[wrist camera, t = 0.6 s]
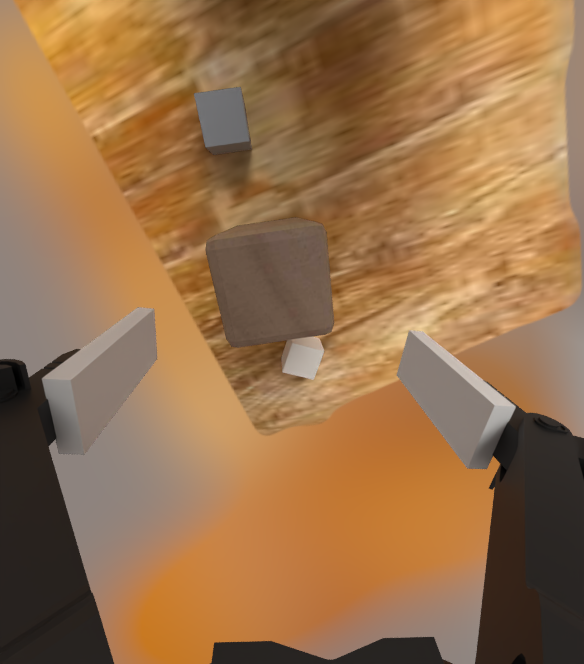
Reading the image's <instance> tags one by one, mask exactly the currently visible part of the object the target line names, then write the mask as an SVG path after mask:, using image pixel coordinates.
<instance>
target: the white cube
mask: <svg viewBox="0 0 584 664" xmlns="http://www.w3.org/2000/svg"><path fill="white" fill-rule="evenodd" d="M323 354H324V349H323V346H322V344H321V341H320V339H319V338H316V337H306V338H299V339H292V340H287V342H286V345H285V348H284V351H283V354H282V357H281V360H282V372H283V373H287V374H292V375H296V376H300V377H304V378H308V379H313V380H314V378H315V375H316V372H317V370H318V367H319V364H320V362H321V359H322V356H323Z"/></svg>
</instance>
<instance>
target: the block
mask: <svg viewBox="0 0 584 664" xmlns="http://www.w3.org/2000/svg"><path fill="white" fill-rule="evenodd" d="M205 250H206V255H207V259H208V263H209V267H210V272H211V276H212V280H213V284H214V289H215V293H216V297H217V301H218V305H219V310H220V314H221V318H222V322H223V327H224V331H225V335H226V339H227V340H228V342H229V343H230V345H231V347H237V348H239V347H245V346H252V345H259V344H265V343H272V342H279V341H286V340H292V339H299V338H306V337H312V336H319V335H326V334H328V333H330V332H331V331H332V328H333V325H334V315H333V303H332V291H331V279H330V268H329V256H328V244H327V232H326V230H325V228H324V226H323V224H321V223H318V222H314V221H310V220H305V219H301V218H296V217H295V218H288V219H281V220H274V221H267V222H260V223H253V224H246V225H239V226H236V227H233V228H231V229H229V230H226V231H224V232H222V233H219V234H217V235H215V236H213V237H212V238H210V239H208V240H207V243H206V249H205Z"/></svg>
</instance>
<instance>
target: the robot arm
mask: <svg viewBox="0 0 584 664" xmlns="http://www.w3.org/2000/svg"><path fill="white" fill-rule="evenodd" d="M156 360H157V347H156V330H155V313H154V309H151V308H139V307H138V308H136V309H135V310H134V311H132V312H131V313H130V314H128V315H127V316H126V317H124V318H123V319H122V320H120V321H119V322H117V323H116V324H115V325H113V326H112V327H111V328H109V329H108V330H107V331H105V332H104V333H103V334H101V335H100V336H99V337H98V338H96V339H94V340H93V341H92V342H90V343H89V344H88V345H86V346H85V347H84V348H82V349H75V350H73V351H70V352H67V353H65V354H62V355H61V356H59V357H58V358H57V359H55V360H54V361H53V362H52V363H49V364H48V365H47V366H45V367H44V369H41V370H39V371H38V372H36V373H35V374H34V375H32V376H31V377H28V373H27V369H26V365H25V363H23V362H22V361H19V360H15V359H2V360H0V664H114V662H113V658H112V655H111V652H110V648H109V645H108V642H107V638H106V635H105V632H104V628H103V625H102V622H101V618H100V615H99V611H98V608H97V605H96V602H95V599H94V596H93V593H91V590H90V587H89V583H88V580H87V576H86V573H85V570H84V567H83V563H82V559H81V556H80V553H79V549H78V546H77V542H76V539H75V536H74V532H73V529H72V525H71V522H70V519H69V515H68V512H67V508H66V505H65V501H64V498H63V495H62V492H61V488H60V484H59V481H58V478H57V474H56V471H55V467H54V464H53V461H52V457H51V454H50V450H49V447H48V446H49V445H50V444H51V443H52V442H53V441H54V440H55V439H56V443H57V448H58V452H59V454H81V455H84V454H85V453H86V452H87V451H88V449H89V448H90V447H91V445H92V444H93V443H94V441H95V440H96V439H97V438H98V436H99V435H100V434H101V432H102V431H103V430H104V428H105V427H106V426H107V424H108V423H109V422H110V420H111V419H112V418H113V416H114V415H115V414H116V412H117V411H118V410H119V408H120V407H121V406H122V405H123V403H124V402H125V401H126V399H127V398H128V397H129V395H130V394H131V393H132V391H133V390H134V388H135V387H136V386H137V385H138V384H139V382H140V381H141V379H142V378H143V377H144V376H145V374H146V373H147V372H148V370H149V369H150V368H151V366H152V365H153V364H154V362H155V361H156ZM397 376H398V378H399V379H400V380H401V381H402V383H403V384H404V385H405V387H406V388H407V389H408V391H409V392H410V393H411V395H412V396H413V397H414V399H415V400H416V401H417V403H418V404H419V405H420V407H421V408H422V409H423V410H424V412H425V413H426V414H427V416H428V417H429V418H430V420H431V421H432V422H433V424H434V425H435V426H436V428H437V429H438V430H439V432H440V433H441V434H442V436H444V438H445V440H446V441H447V442H448V444H449V445H450V446H451V448H452V449H453V450H454V451H455V453H456V454H457V455H458V457H459V458H460V459H461V461H462V462H463V463H464V464H465V466H466V467H467V468H471V469H487V468H488V465H489V463H490V461H491V459H492V457H493V456H494V457H495V458H496V459H497V460H498V461H499V463H500V466H499V468H498V470H497V472H496V474H495V476H494V478H493V481H492V483H491V485H490V487H489V488H490V489H493V488H494V487H495V490H494V500H493V509H492V517H491V526H490V535H489V545H488V553H487V563H486V573H485V582H484V590H483V599H482V608H481V617H480V627H479V636H478V645H477V653H476V661H475V664H584V438H581V437H577V436H573V435H572V433H571V432H570V430H569V429H568V428H567V427H565V426H564V425H563V424H561V423H559V422H558V421H556V420H554V419H552V418H549V417H547V416H544V415H540V414H537V413H526V412H524V411H523V410H522V409H521V408H519V407H518V406H517V405H516V404H514V403H513V402H512V401H511V400H509V399H508V398H507V397H504V395H503V394H502V393H500V392H499V391H497V389H496V388H494V387H493V386H492V385H490V384H489V383H488V382H486V381H484V380H482V379H481V378H480V377H479V376H477V375H476V374H475V373H474V372H472V371H471V370H470V369H469V368H467V367H466V366H465V365H464V364H462V363H461V362H460V361H458V360H457V359H456V358H455V357H454V356H452V355H451V354H450V353H449V352H448V351H446V350H445V349H444V348H443V347H441V346H440V345H439V344H438V343H436V342H435V341H434V340H433V339H431V338H430V337H429V336H428V335H426V334H425V333H424V332H422V331H411V330H409V333H408V337H407V340H406V344H405V347H404V351H403V354H402V358H401V362H400V365H399V369H398V372H397ZM211 664H452V663H450V662H447V661H446V660H443V659H442V657H441V655H440V652H439V649H438V647H437V644H436V642H435V639H434V637H414V638H383V639H380V640H378V641H376V642H374V643H371V644H369V645H367V646H364V647H362V648H360V649H357V650H355V651H353V652H351V653H348V654H346V655H344V656H341V657H339V658H337V659H334V660H327V659H323V658H321V657H317V656H314V655H311V654H308V653H305V652H302V651H299V650H296V649H293V648H290V647H287V646H284V645H281V644H278V643H275V642H272V641H261V642H259V641H258V642H221V643H220V642H219V643H214V648H213V656H212V663H211Z"/></svg>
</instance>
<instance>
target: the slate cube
mask: <svg viewBox="0 0 584 664" xmlns="http://www.w3.org/2000/svg"><path fill="white" fill-rule="evenodd" d="M194 96H195V100H196V105H197V110H198V115H199V119H200V124H201V129H202V133H203V138H204V143H205V147H206V148H207V149H208V150H209V151H210V152H211V153H212V154H213V155H217V154H223V153H230V152H237V151H244V150H251V149H252V146H251V140H250V134H249V128H248V122H247V116H246V110H245V104H244V99H243V95H242V91H241V87H236V88H229V89H222V90H215V91H208V92H201V93H194Z"/></svg>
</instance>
